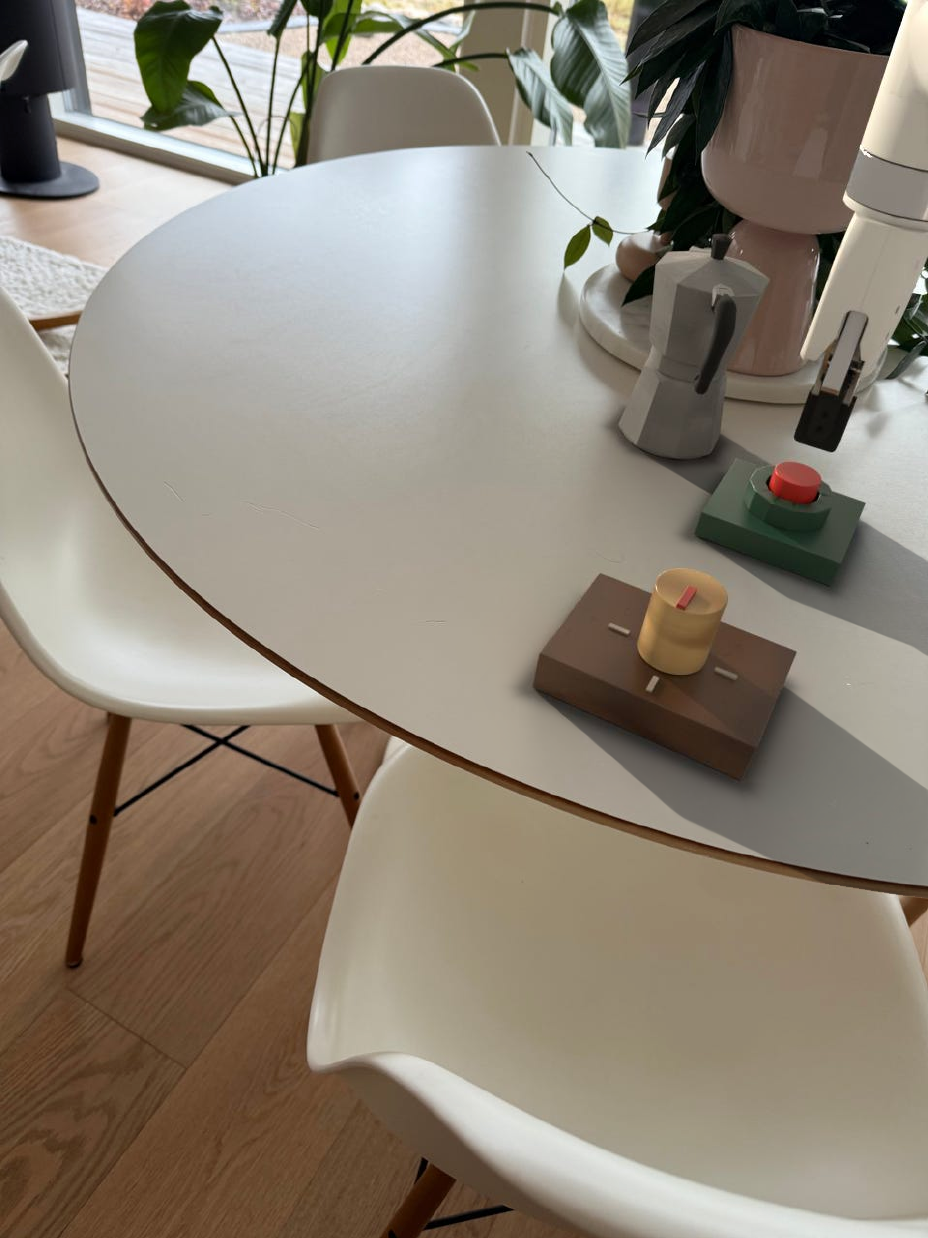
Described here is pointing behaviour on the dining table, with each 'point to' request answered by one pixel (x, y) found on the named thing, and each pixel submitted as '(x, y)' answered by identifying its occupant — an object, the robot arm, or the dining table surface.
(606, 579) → the panel
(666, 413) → the coffeepot
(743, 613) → the dining table surface
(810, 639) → the dining table surface
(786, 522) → the button box
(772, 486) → the button
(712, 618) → the dial
